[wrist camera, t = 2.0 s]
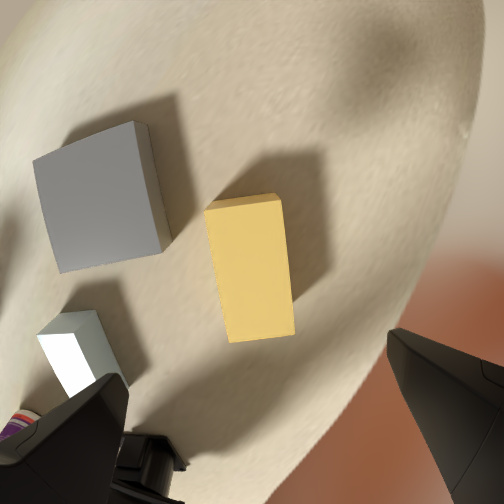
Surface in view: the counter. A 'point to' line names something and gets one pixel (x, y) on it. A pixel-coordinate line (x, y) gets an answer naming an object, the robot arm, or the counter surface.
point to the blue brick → (78, 350)
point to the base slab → (103, 199)
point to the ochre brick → (251, 266)
